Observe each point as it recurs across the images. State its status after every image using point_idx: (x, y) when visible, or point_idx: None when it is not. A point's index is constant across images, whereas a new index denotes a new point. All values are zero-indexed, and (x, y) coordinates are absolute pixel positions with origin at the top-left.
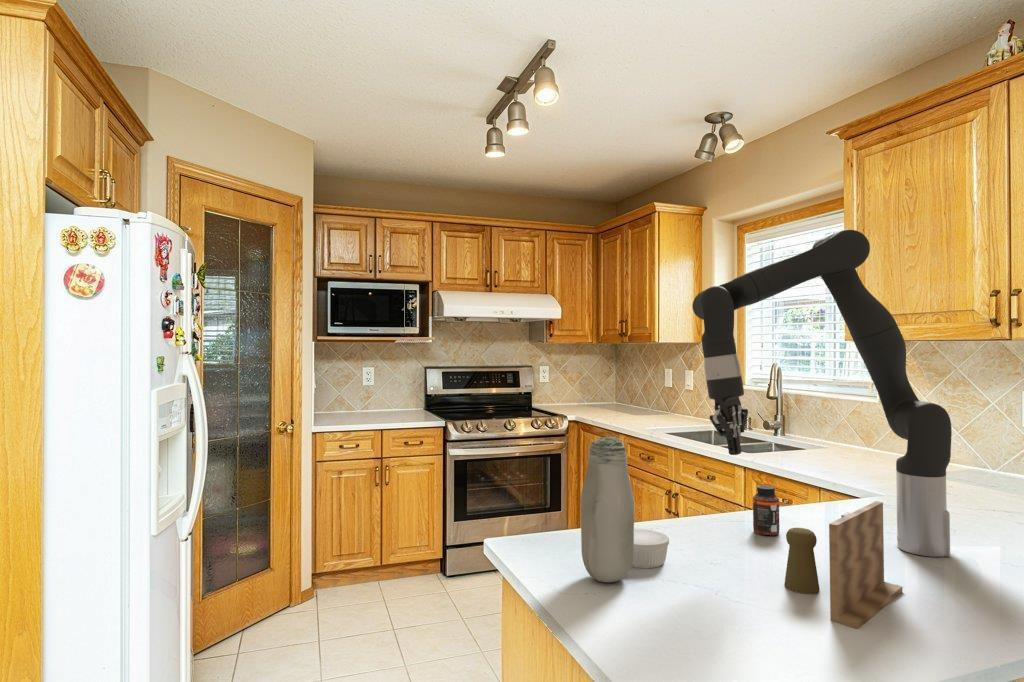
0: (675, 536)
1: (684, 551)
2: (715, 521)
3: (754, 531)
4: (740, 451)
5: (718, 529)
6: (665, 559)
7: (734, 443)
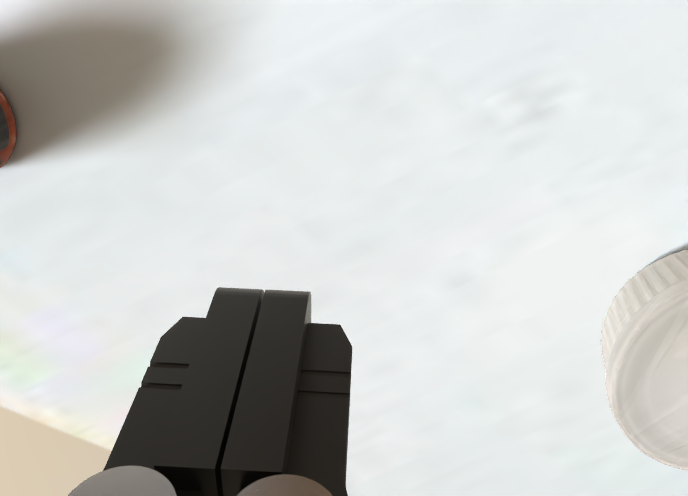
0: None
1: (473, 260)
2: (15, 342)
3: (7, 159)
4: (239, 297)
5: (100, 288)
6: (675, 254)
7: (307, 420)
